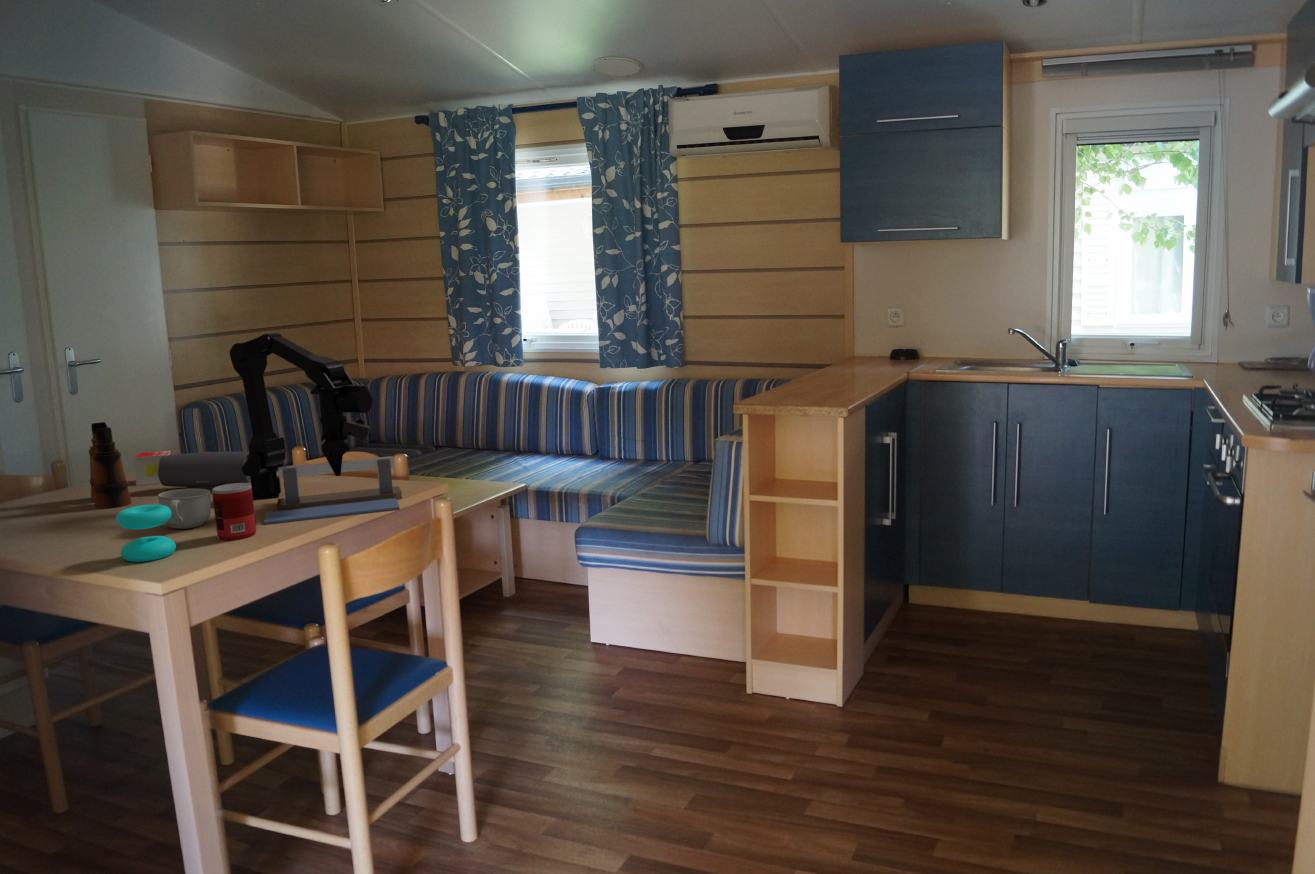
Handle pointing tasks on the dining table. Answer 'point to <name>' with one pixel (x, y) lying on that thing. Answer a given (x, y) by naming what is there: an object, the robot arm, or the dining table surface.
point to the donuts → (149, 545)
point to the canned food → (234, 511)
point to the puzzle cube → (148, 467)
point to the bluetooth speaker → (203, 469)
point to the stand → (338, 498)
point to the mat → (330, 511)
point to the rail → (326, 468)
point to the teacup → (187, 507)
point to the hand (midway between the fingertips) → (338, 474)
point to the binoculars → (106, 470)
